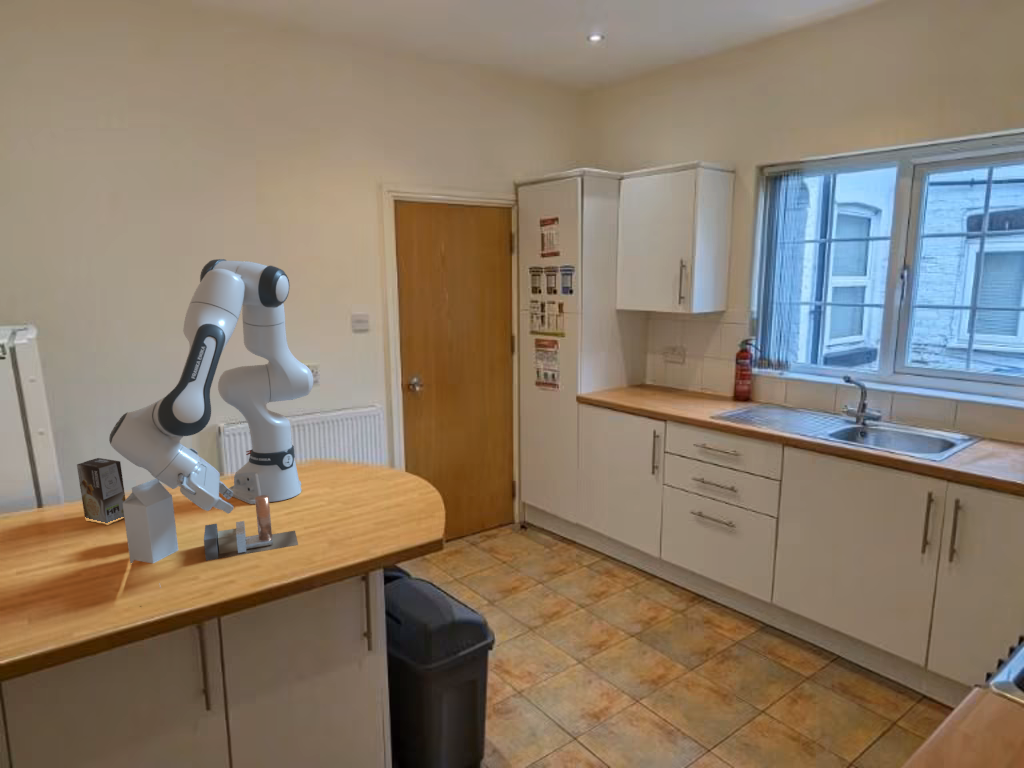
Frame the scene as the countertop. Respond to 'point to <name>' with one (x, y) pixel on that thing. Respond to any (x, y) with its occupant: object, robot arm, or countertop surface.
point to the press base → (278, 542)
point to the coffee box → (102, 489)
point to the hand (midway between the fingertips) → (231, 503)
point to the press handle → (263, 527)
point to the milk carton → (150, 522)
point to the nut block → (227, 541)
